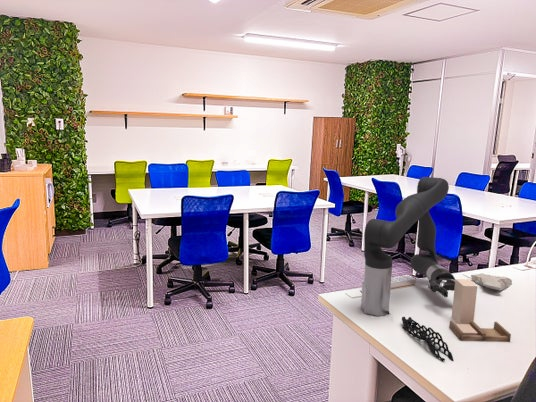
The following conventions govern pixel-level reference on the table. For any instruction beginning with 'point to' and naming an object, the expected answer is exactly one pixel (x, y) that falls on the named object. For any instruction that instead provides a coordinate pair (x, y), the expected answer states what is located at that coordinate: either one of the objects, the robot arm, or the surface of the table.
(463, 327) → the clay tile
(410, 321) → the decorative element
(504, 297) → the table surface
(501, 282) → the rock
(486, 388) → the table surface
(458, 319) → the beige wooden block
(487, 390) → the table surface
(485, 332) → the wooden open-ended tray
